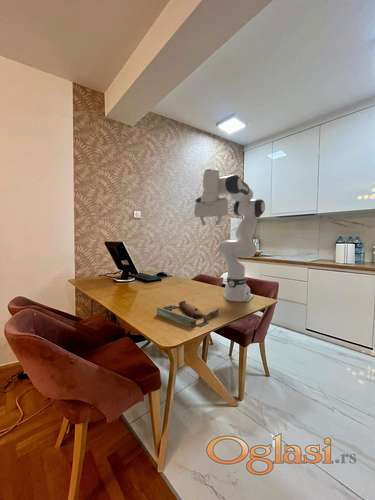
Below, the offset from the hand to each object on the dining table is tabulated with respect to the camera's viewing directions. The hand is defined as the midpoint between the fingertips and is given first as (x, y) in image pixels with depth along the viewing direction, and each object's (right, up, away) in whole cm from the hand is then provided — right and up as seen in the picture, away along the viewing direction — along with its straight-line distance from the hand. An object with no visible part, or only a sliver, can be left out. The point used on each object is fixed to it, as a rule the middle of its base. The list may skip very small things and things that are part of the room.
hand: (210, 224), depth 121 cm
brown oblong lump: (-10, -49, -1) cm, 50 cm away
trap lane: (-12, -48, -4) cm, 50 cm away
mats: (-14, -48, -4) cm, 50 cm away
